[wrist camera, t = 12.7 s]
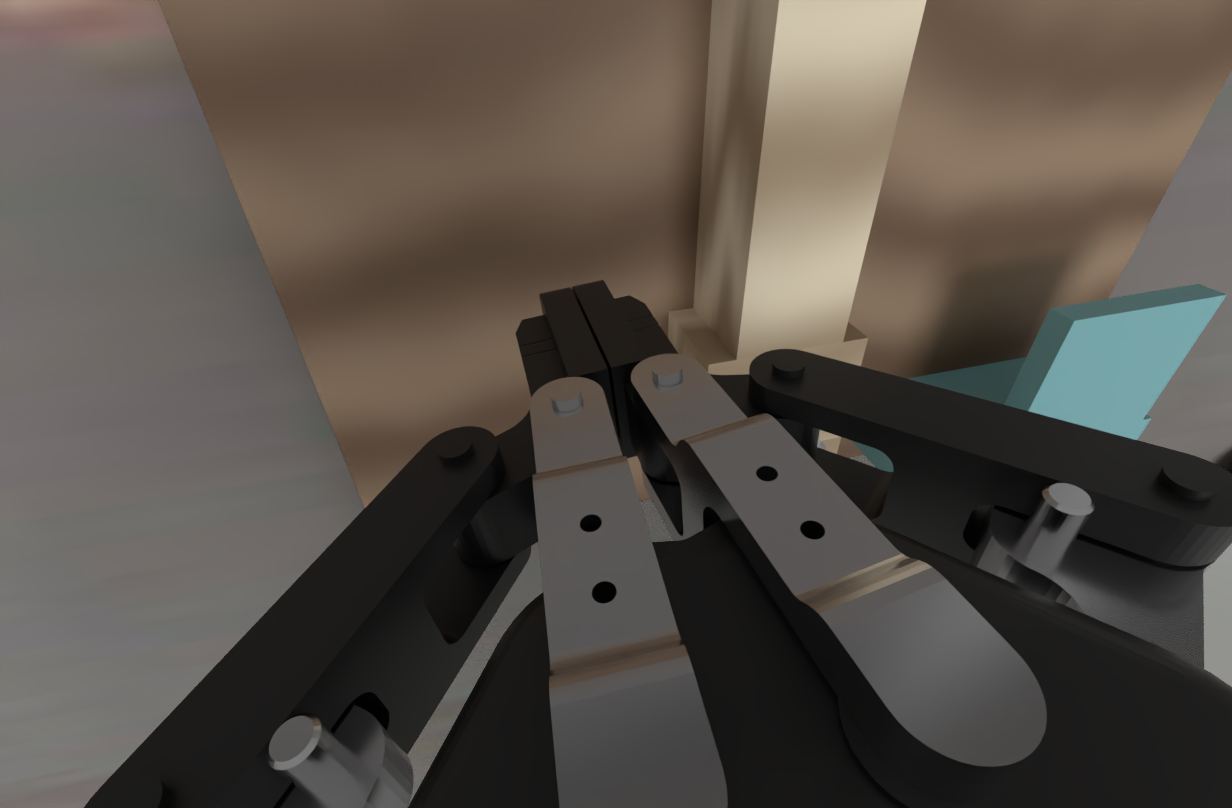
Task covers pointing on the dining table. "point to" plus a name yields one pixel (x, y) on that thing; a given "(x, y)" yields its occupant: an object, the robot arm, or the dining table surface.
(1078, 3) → the walnut board
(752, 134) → the maple link
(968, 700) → the robot arm
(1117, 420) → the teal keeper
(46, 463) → the dining table surface
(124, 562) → the dining table surface
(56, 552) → the dining table surface
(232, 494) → the dining table surface
